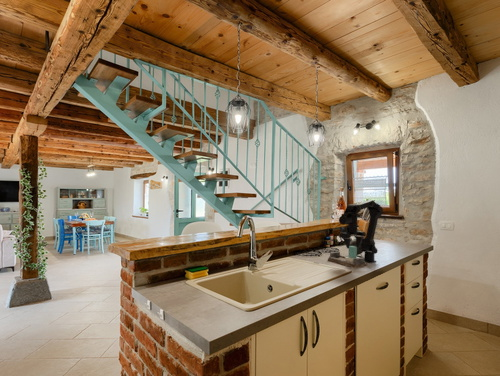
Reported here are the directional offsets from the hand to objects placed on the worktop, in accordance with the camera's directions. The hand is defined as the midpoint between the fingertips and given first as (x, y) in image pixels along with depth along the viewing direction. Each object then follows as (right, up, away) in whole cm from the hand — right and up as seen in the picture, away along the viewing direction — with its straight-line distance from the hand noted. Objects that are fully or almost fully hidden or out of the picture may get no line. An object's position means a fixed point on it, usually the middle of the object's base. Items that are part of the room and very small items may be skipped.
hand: (352, 247), depth 184 cm
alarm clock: (+12, -12, +26) cm, 31 cm away
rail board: (-3, -11, +4) cm, 12 cm away
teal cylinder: (0, -9, 0) cm, 9 cm away
